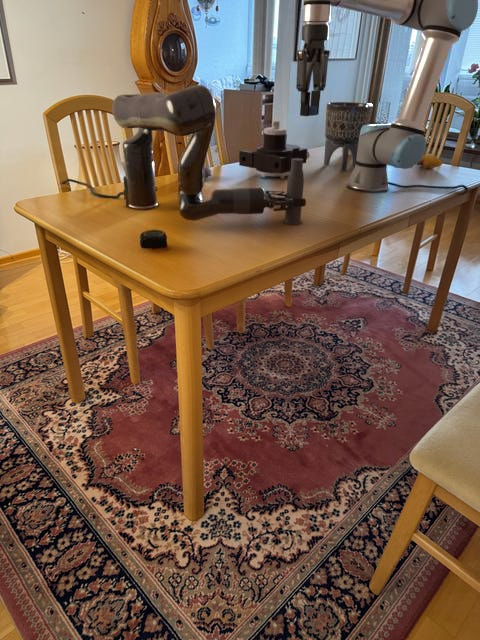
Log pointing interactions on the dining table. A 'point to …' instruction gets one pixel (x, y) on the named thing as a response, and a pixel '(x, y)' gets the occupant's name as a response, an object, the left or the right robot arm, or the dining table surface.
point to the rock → (207, 172)
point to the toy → (429, 161)
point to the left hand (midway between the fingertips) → (302, 199)
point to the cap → (312, 110)
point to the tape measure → (153, 239)
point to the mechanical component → (273, 153)
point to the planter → (345, 128)
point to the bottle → (295, 190)
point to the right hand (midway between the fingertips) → (309, 114)
